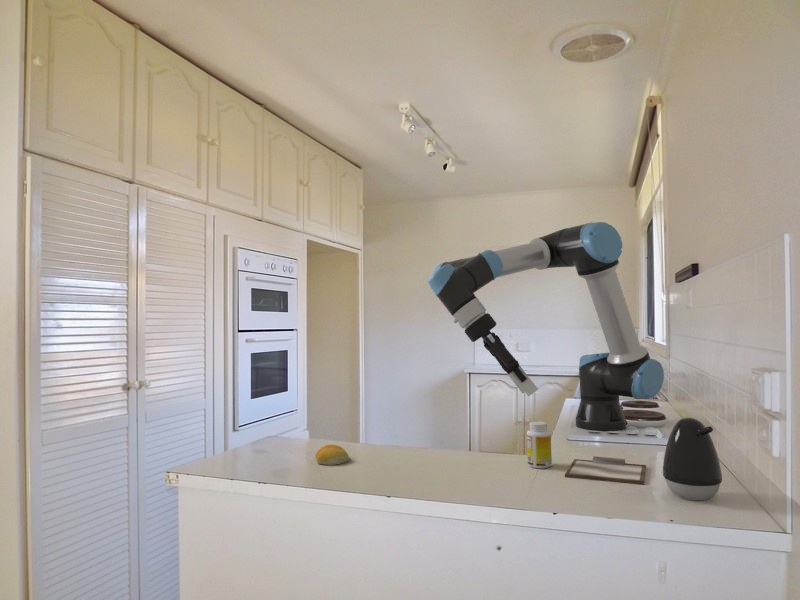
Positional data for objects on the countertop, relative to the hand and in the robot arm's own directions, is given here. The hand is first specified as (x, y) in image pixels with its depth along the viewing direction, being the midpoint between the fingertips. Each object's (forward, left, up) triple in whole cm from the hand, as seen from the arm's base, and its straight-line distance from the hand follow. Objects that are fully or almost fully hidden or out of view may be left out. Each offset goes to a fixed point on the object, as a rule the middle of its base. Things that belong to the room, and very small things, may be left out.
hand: (530, 391), depth 134 cm
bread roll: (+12, -49, -18) cm, 53 cm away
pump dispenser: (+11, +33, -18) cm, 40 cm away
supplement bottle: (-1, +1, -18) cm, 18 cm away
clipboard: (-1, +16, -18) cm, 24 cm away
